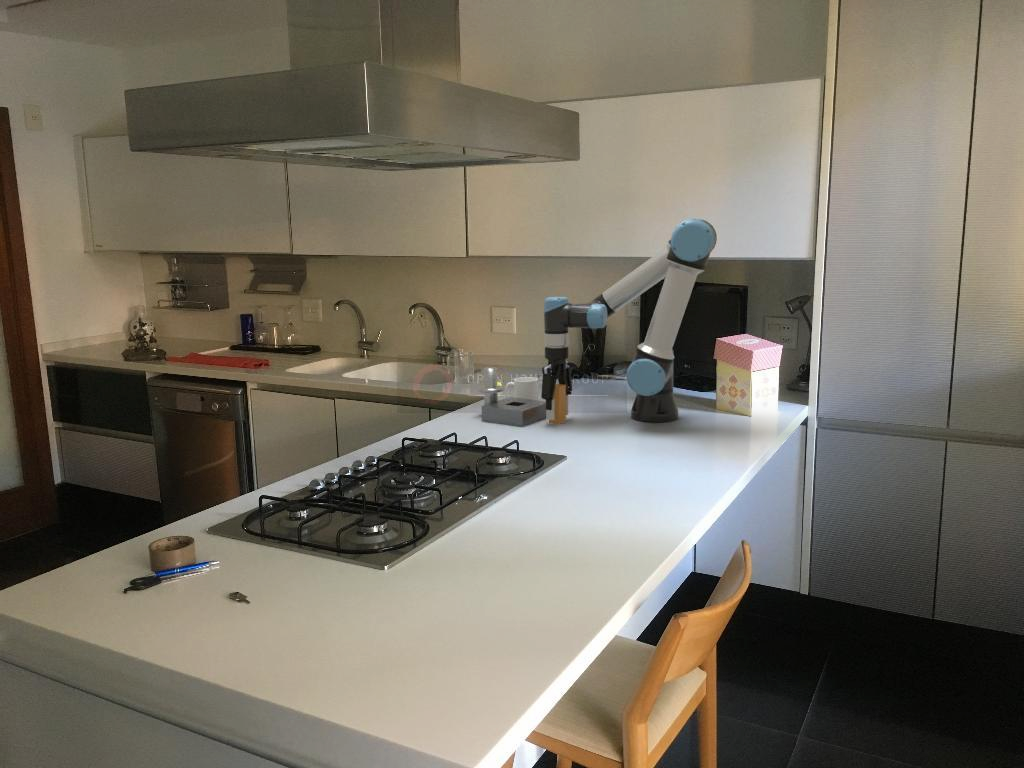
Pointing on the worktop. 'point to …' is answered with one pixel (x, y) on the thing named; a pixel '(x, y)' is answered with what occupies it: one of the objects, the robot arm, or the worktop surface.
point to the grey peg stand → (508, 404)
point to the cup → (524, 388)
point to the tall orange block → (559, 404)
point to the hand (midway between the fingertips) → (557, 416)
